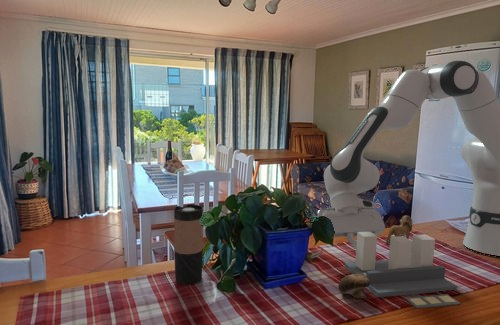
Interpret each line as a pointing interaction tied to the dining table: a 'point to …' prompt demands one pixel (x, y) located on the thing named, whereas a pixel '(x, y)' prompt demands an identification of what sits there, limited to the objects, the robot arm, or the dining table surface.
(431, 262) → the key
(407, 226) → the lion figurine
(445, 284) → the board
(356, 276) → the mushroom
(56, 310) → the dining table surface
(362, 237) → the key
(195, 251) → the travel mug
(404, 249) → the middle key
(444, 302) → the card
